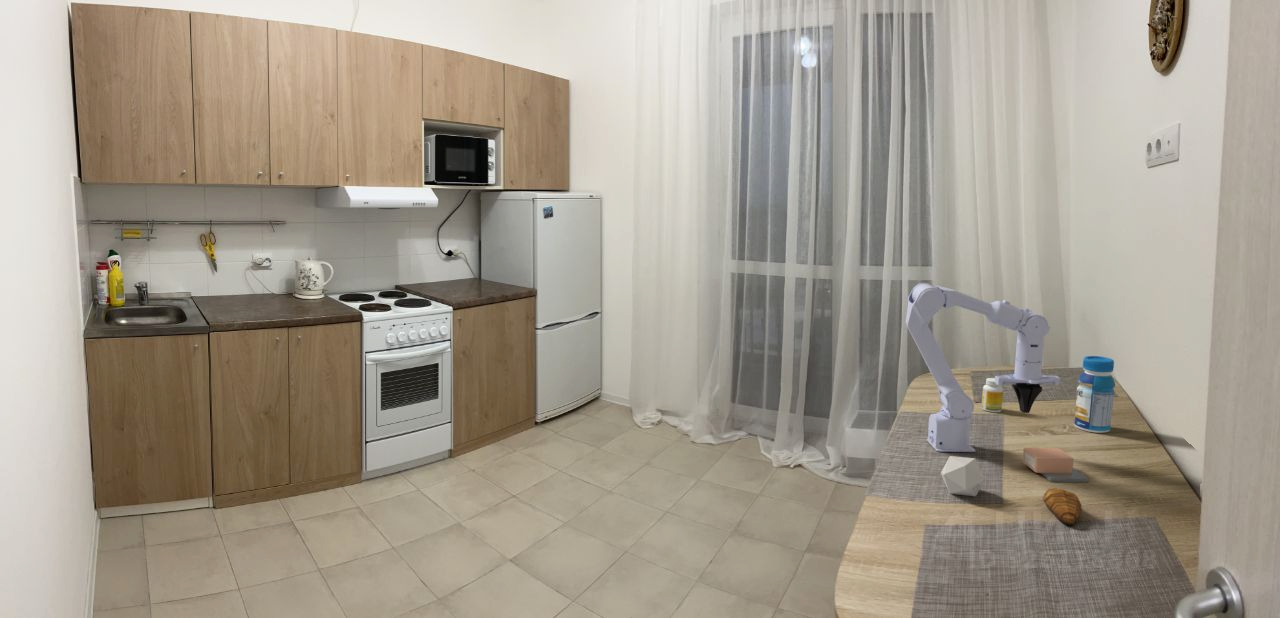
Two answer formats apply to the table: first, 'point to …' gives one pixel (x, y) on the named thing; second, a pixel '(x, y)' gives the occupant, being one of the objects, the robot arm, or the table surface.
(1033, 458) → the block
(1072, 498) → the croissant
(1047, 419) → the table surface
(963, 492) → the die
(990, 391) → the supplement bottle
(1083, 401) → the beverage bottle
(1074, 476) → the board
